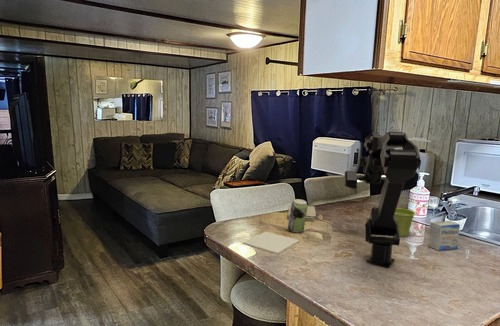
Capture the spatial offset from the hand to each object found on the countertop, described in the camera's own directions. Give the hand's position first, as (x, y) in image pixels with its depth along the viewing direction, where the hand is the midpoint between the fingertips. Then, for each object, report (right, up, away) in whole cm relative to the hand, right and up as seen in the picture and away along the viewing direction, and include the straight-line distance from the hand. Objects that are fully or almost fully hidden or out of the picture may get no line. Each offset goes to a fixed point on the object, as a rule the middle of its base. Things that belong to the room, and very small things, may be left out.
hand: (368, 194), depth 128 cm
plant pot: (+11, -15, 0) cm, 19 cm away
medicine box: (+20, -17, -13) cm, 30 cm away
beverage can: (-27, -14, +1) cm, 30 cm away
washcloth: (-22, -12, +22) cm, 33 cm away
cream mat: (-37, -16, -12) cm, 42 cm away
